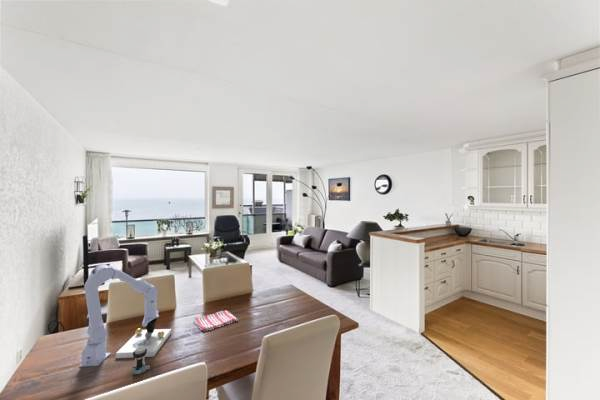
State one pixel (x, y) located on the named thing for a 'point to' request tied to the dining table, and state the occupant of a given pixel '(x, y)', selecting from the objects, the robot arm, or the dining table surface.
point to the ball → (148, 334)
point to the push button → (139, 360)
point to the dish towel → (214, 320)
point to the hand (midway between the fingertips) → (150, 332)
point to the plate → (144, 343)
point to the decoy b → (160, 334)
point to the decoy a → (138, 331)
